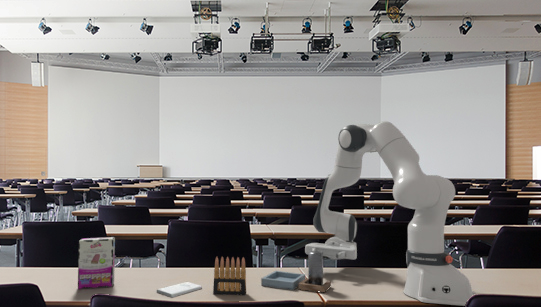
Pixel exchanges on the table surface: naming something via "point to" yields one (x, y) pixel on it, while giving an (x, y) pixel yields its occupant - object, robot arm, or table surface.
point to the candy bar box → (96, 262)
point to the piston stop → (315, 268)
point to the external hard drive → (179, 289)
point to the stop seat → (314, 286)
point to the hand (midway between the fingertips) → (325, 254)
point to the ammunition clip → (229, 278)
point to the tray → (282, 280)
